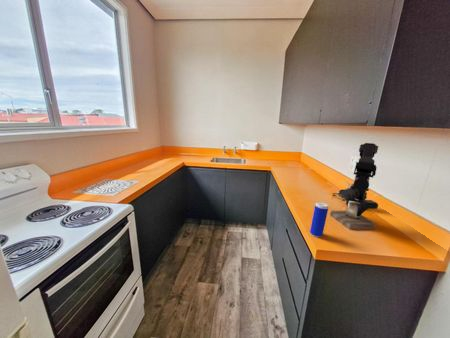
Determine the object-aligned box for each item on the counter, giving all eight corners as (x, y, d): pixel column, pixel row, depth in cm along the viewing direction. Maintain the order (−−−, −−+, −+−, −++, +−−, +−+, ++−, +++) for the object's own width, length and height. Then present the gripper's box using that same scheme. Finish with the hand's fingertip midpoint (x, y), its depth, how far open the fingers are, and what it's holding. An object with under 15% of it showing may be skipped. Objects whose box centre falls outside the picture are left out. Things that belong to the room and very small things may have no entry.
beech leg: (341, 217, 99) (345, 200, 96) (352, 217, 99) (356, 200, 97) (350, 223, 93) (354, 205, 91) (361, 223, 94) (365, 205, 91)
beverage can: (318, 231, 85) (324, 202, 82) (324, 238, 80) (331, 207, 77) (307, 231, 85) (313, 201, 81) (313, 237, 80) (319, 206, 76)
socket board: (330, 215, 102) (331, 210, 102) (352, 215, 104) (353, 210, 103) (349, 229, 89) (350, 223, 88) (374, 229, 90) (376, 223, 90)
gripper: (333, 179, 100) (327, 205, 103) (361, 191, 82) (353, 222, 85) (351, 179, 101) (345, 205, 105) (383, 192, 83) (374, 222, 87)
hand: (353, 213), depth 95 cm, fingers closed on beech leg, 6 cm apart
